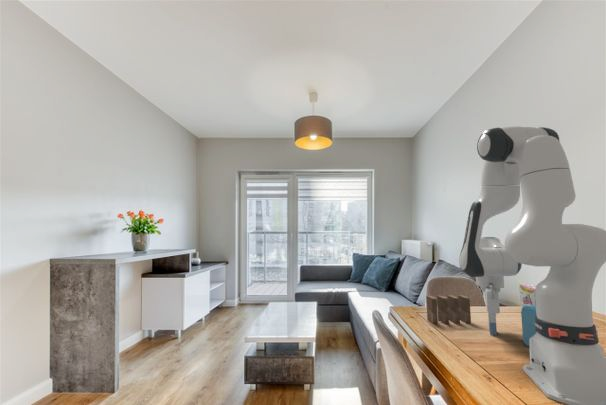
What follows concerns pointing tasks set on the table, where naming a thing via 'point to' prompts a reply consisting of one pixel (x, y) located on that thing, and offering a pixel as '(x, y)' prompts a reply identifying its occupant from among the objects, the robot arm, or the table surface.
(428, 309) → the domino
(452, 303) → the domino
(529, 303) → the candy bar box
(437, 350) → the table surface
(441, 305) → the domino
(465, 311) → the domino
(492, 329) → the domino
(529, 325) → the data package
